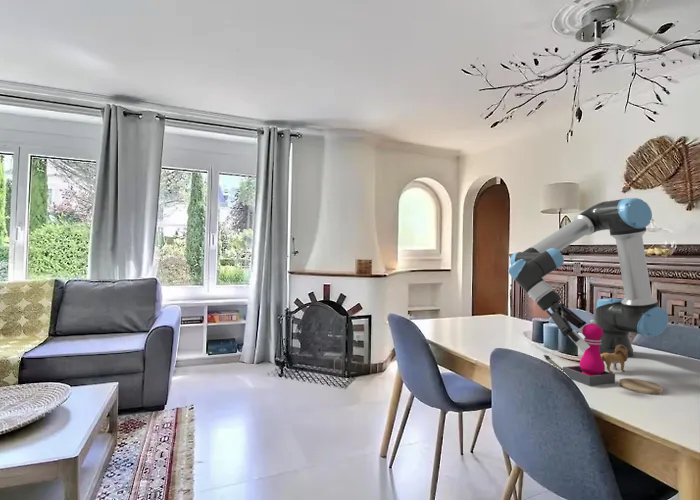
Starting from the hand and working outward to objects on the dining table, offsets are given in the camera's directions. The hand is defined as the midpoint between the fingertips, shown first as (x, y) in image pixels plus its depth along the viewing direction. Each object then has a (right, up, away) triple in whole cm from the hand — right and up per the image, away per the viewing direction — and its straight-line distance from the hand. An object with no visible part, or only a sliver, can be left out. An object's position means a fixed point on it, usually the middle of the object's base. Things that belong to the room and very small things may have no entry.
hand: (591, 345), depth 130 cm
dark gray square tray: (-1, -11, +1) cm, 12 cm away
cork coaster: (+11, -12, -6) cm, 18 cm away
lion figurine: (+14, -12, +12) cm, 22 cm away
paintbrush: (-2, -12, +18) cm, 21 cm away
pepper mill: (0, -12, 0) cm, 12 cm away
